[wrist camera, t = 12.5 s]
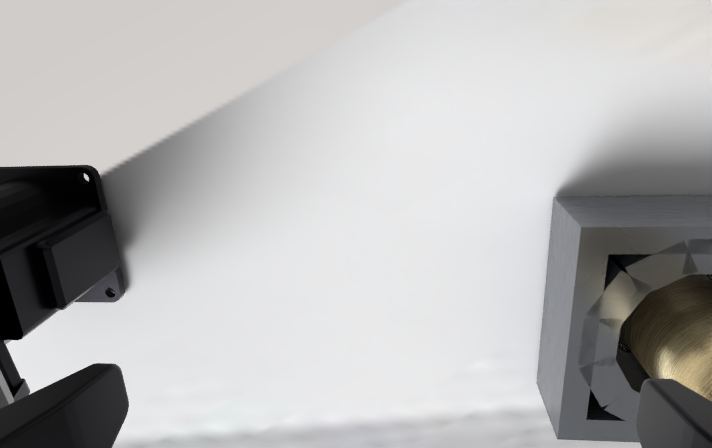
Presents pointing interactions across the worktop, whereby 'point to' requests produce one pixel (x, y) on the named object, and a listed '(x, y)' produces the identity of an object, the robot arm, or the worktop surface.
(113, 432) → the robot arm
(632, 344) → the brass flanged cylinder
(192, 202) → the worktop surface
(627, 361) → the jig
